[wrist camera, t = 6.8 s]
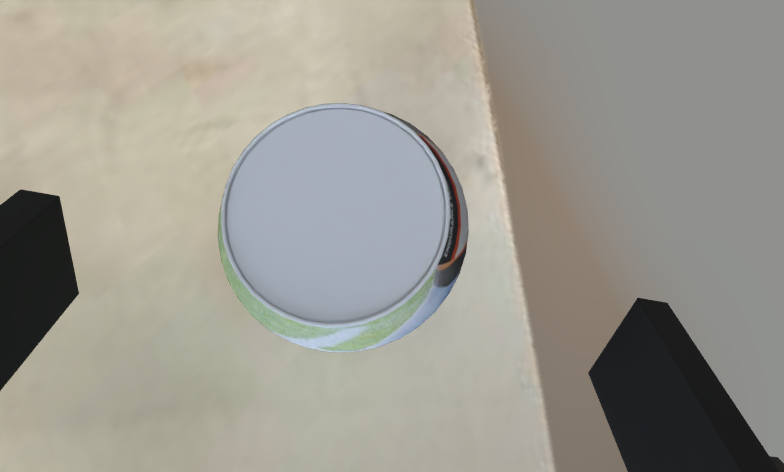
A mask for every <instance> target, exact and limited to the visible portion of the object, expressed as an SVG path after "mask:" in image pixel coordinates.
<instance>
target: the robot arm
mask: <svg viewBox="0 0 784 472" xmlns="http://www.w3.org/2000/svg"><path fill="white" fill-rule="evenodd" d="M78 294H79V292H78V287H77V282H76V277H75V272H74V267H73V262H72V257H71V252H70V247H69V242H68V237H67V232H66V227H65V222H64V217H63V212H62V207H61V202H60V197H59V196H55V195H49V194H44V193H38V192H32V191H27V190H19V191H18V192H17V193H15V194H14V195H13V196H11V197H10V198H9V199H8V200H6V201H5V202H4V203H2V204H1V205H0V390H1V389H2V388H3V387H4V385H5V384H6V383H7V382H8V381H9V379H10V378H11V377H12V376H13V374H14V373H15V372H16V371H17V369H18V368H19V367H20V366H21V364H22V363H23V362H24V361H25V360H26V358H27V357H28V356H29V355H30V353H31V352H32V351H33V350H34V348H35V347H36V346H37V345H38V343H39V342H40V341H41V340H42V338H43V337H44V336H45V335H46V334H47V332H48V331H49V330H50V329H51V327H52V326H53V325H54V324H55V322H56V321H57V320H58V319H59V317H60V316H61V315H62V314H63V313H64V311H65V310H66V309H67V308H68V306H69V305H70V304H71V303H72V301H73V300H74V299H75V298H76V296H77V295H78ZM589 376H590V378H591V381H592V383H593V386H594V388H595V391H596V393H597V396H598V398H599V401H600V403H601V406H602V408H603V411H604V413H605V416H606V418H607V421H608V423H609V426H610V428H611V431H612V433H613V436H614V438H615V441H616V443H617V446H618V448H619V451H620V453H621V456H622V458H623V461H624V463H625V466H626V468H627V471H628V472H784V463H783V462H782V461H781V460H780V459H779V458H778V457H770V456H769V455H768V454H767V452H766V451H765V449H764V448H763V446H762V445H761V443H760V442H759V440H758V439H757V437H756V436H755V434H754V433H753V431H752V430H751V428H750V427H749V425H748V424H747V422H746V421H745V419H744V418H743V416H742V415H741V413H740V412H739V410H738V409H737V407H736V406H735V404H734V403H733V401H732V400H731V398H730V397H729V395H728V394H727V392H726V391H725V389H724V388H723V386H722V385H721V383H720V382H719V380H718V379H717V377H716V376H715V374H714V373H713V371H712V370H711V368H710V367H709V365H708V364H707V362H706V360H705V359H704V358H703V356H702V355H701V353H700V351H699V350H698V348H697V347H696V346H695V344H694V342H693V341H692V339H691V338H690V337H689V335H688V334H687V332H686V330H685V329H684V327H683V326H682V324H681V323H680V321H679V320H678V318H677V317H676V315H675V314H674V312H673V311H672V309H671V308H670V306H669V305H668V303H665V302H659V301H653V300H647V299H641V298H637V300H636V301H635V303H634V304H633V306H632V308H631V309H630V311H629V312H628V314H627V315H626V317H625V318H624V320H623V321H622V323H621V324H620V326H619V327H618V329H617V330H616V332H615V333H614V335H613V336H612V338H611V339H610V341H609V342H608V344H607V345H606V347H605V348H604V350H603V352H602V353H601V354H600V356H599V358H598V359H597V360H596V362H595V364H594V365H593V367H592V368H591V370H590V371H589Z"/></svg>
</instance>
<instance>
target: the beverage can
mask: <svg viewBox="0 0 784 472" xmlns="http://www.w3.org/2000/svg"><path fill="white" fill-rule="evenodd" d="M467 239H468V213H467V206H466V202H465V198H464V194H463V190H462V187H461V185H460V182H459V180H458V178H457V175H456V173H455V171H454V169H453V167H452V166H451V164H450V163H449V161H448V160H447V158H446V157H445V155H444V154H443V152H442V151H441V150H440V149H439V148H438V147H437V146H436V145H435V144H434V143H433V142H432V141H431V140H430V138H429V137H428V136H426V135H425V134H424V133H422V132H421V131H420V130H418V129H417V128H416V127H414V126H413V125H411V124H410V123H408V122H406V121H404V120H402V119H400V118H398V117H396V116H394V115H392V114H389V113H385V112H382V111H379V110H376V109H373V108H369V107H366V106H362V105H355V104H347V103H332V104H321V105H316V106H311V107H306V108H303V109H301V110H298V111H295V112H293V113H290V114H288V115H286V116H284V117H282V118H281V119H279V120H277V121H275V122H274V123H272V124H270V125H269V126H268V127H267V128H266V129H264V130H263V131H262V132H261V133H259V134H258V135H257V136H256V137H255V138H254V139H253V140H252V141H251V143H250V144H249V145H248V146H247V147H246V148H245V149H244V150H243V152H242V154H241V155H240V157H239V158H238V160H237V162H236V163H235V165H234V166H233V169H232V171H231V173H230V176H229V178H228V181H227V183H226V186H225V191H224V194H223V199H222V203H221V208H220V212H219V223H218V241H219V248H220V255H221V260H222V263H223V266H224V269H225V272H226V275H227V278H228V281H229V282H230V284H231V286H232V288H233V290H234V291H235V293H236V295H237V297H238V299H239V300H240V301H241V302H242V304H243V305H244V306H245V307H246V308H247V310H248V311H249V312H250V313H251V315H252V316H253V317H254V318H256V319H257V320H258V321H259V322H260V323H262V324H263V325H264V326H265V327H266V328H267V329H269V330H270V331H272V332H273V333H275V334H277V335H279V336H280V337H282V338H284V339H286V340H287V341H289V342H292V343H295V344H298V345H301V346H304V347H307V348H309V349H314V350H321V351H327V352H358V351H362V350H367V349H372V348H377V347H380V346H382V345H385V344H387V343H390V342H392V341H395V340H397V339H400V338H401V337H403V336H404V335H406V334H408V333H409V332H411V331H412V330H414V329H416V328H417V327H419V326H420V325H421V324H422V323H423V322H424V321H425V320H426V319H428V318H429V317H430V316H431V315H432V314H433V313H434V312H435V311H436V310H437V309H438V307H439V306H440V305H441V303H442V302H443V301H444V300H445V298H446V297H447V296H448V294H449V293H450V291H451V289H452V287H453V285H454V283H455V281H456V279H457V277H458V275H459V273H460V270H461V267H462V264H463V260H464V257H465V254H466V247H467Z"/></svg>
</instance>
